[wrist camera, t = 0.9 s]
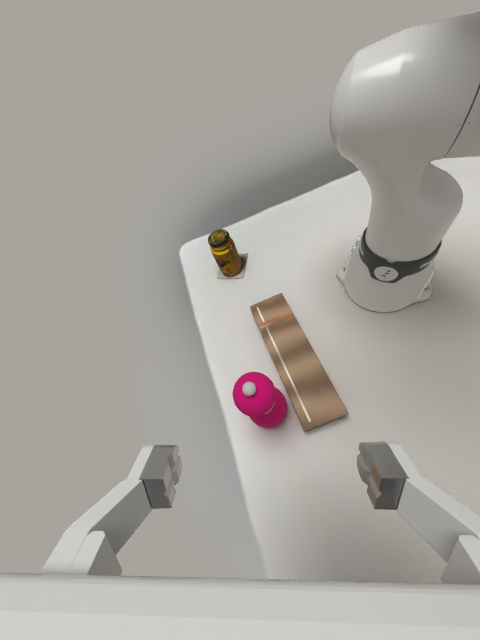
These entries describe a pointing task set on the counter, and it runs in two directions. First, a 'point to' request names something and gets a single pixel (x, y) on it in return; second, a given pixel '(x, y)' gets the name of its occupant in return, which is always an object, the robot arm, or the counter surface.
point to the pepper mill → (259, 399)
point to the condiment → (227, 255)
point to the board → (297, 364)
